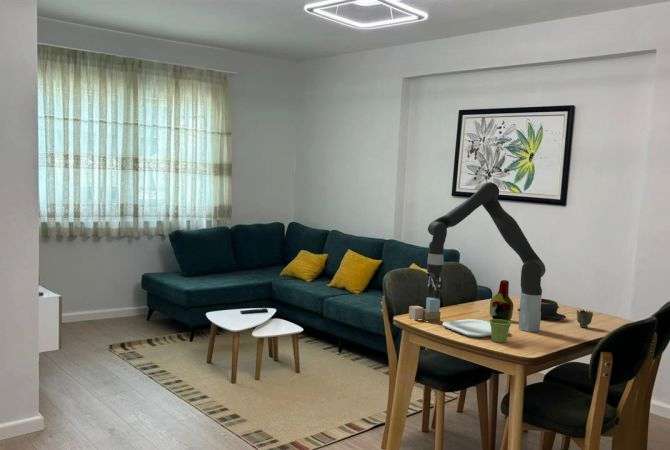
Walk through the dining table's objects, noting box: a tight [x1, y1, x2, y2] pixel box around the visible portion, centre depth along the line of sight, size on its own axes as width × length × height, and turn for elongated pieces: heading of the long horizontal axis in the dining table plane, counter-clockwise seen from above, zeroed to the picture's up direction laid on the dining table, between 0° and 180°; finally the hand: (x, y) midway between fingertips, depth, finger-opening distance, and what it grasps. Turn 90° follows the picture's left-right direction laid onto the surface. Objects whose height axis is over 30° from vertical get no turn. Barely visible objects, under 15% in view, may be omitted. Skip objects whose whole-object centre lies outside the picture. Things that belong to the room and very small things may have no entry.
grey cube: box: [425, 297, 441, 312], centre depth 294 cm, size 5×5×6 cm
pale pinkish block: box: [408, 305, 425, 321], centre depth 295 cm, size 5×5×6 cm
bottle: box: [489, 279, 514, 321], centre depth 304 cm, size 12×6×20 cm, turn 46°
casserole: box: [516, 298, 567, 320], centre depth 316 cm, size 25×19×8 cm
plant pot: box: [488, 318, 512, 344], centre depth 262 cm, size 9×9×9 cm
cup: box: [576, 309, 594, 329], centre depth 297 cm, size 8×7×8 cm
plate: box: [442, 318, 510, 339], centre depth 279 cm, size 25×25×2 cm
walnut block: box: [422, 308, 442, 323], centre depth 294 cm, size 7×7×5 cm
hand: (433, 296), depth 293 cm, fingers open, 8 cm apart
